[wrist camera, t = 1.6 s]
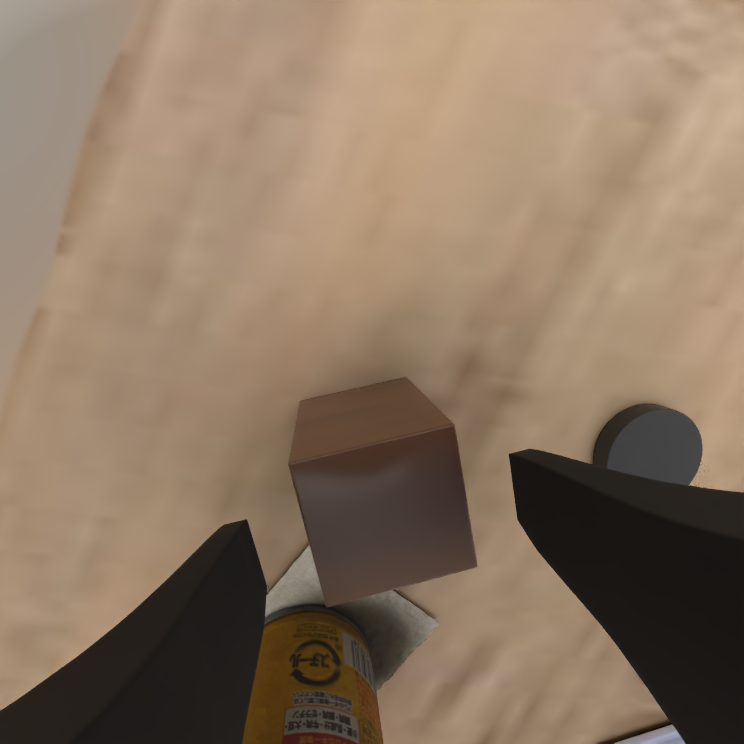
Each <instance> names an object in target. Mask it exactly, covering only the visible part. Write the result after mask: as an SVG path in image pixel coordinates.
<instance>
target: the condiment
mask: <svg viewBox="0 0 744 744" xmlns="http://www.w3.org/2000/svg"><path fill="white" fill-rule="evenodd" d="M438 625H439V623H438V622H437V621H436V620H434V619H433V618H431V617H430V616H428V615H426V614H425V612H424V611H422V610H421V609H419V608H418V607H416V606H415V605H413V604H412V603H411V602H409V601H408V600H406V599H404V598H403V597H401V596H400V595H399V594H398V593H396V592H395V591H393V590H391V591H387V592H383V593H380V594H376V595H372V596H369V597H365V598H361V599H357V600H354V601H350V602H346V603H343V604H339V605H335V606H332V607H326V605H325V601H324V598H323V594H322V590H321V586H320V583H319V579H318V575H317V571H316V567H315V564H314V560H313V556H312V552H311V549H310V545H309V546H308V547H307V548H306V549H305V551H304V552H303V553H302V554H301V556H300V557H299V558H298V559H297V560H296V561H295V562H294V563H293V564H292V566H291V567H290V568H289V570H288V571H287V572H286V574H285V575H284V576H283V577H282V578H281V579H280V580H279V581H278V583H277V584H276V585H275V586H274V587H273V588H272V590H271V591H270V592H269V593H268V595H266V611H265V624H264V630H263V636H262V641H261V647H260V652H259V657H258V662H257V667H256V673H255V678H254V683H253V688H252V693H251V698H250V703H249V708H248V714H247V719H246V724H245V729H244V736H243V742H242V744H383V738H382V730H381V723H380V716H379V708H378V702H377V694H376V691H377V690H378V689H379V688H380V687H381V686H382V685H383V683H384V682H386V681H387V680H389V679H390V678H391V677H392V676H393V674H394V673H395V671H396V670H397V669H398V667H399V666H400V665H401V664H402V663H404V661H405V660H406V658H407V657H408V656H409V655H410V654H411V653H412V652H413V651H414V650H415V648H417V647H418V646H419V645H420V644H421V643H422V642H423V641H425V640H426V639H427V638H428V636H429V635H430V633H431V632H432V631H433V630H434V629H435V628H436V627H437V626H438Z"/></svg>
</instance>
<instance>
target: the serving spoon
mask: <svg viewBox="0 0 744 744" xmlns="http://www.w3.org/2000/svg"><path fill="white" fill-rule="evenodd" d="M701 458H702V440H701V435H700V433H699V430H698V428H697V427H696V425H695V424H694V422H693V421H692V420H691V419H690V418H689V417H687V416H686V415H684V414H683V413H681V412H678V411H676V410H673V409H670V408H667V407H664V406H660V405H656V404H641V405H636V406H633V407H630V408H628V409H626V410H624V411H622V412H621V413H619V414H618V415H617V416H615V417H614V418H613V419H612V420H611V421H610V422H609V423H608V424H607V425H606V427H605V428H604V429H603V431H602V432H601V434H600V436H599V438H598V441H597V443H596V446H595V451H594V465H596V466H599V467H603V468H607V469H611V470H615V471H619V472H623V473H627V474H632V475H636V476H640V477H645V478H649V479H654V480H659V481H664V482H670V483H676V484H682V485H689V484H690V483H691V481H692V480H693V478H694V477H695V475H696V473H697V471H698V468H699V466H700V462H701Z"/></svg>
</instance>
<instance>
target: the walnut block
mask: <svg viewBox="0 0 744 744" xmlns="http://www.w3.org/2000/svg"><path fill="white" fill-rule="evenodd" d="M288 465H289V469H290V473H291V477H292V481H293V484H294V488H295V492H296V496H297V499H298V503H299V507H300V511H301V515H302V518H303V522H304V526H305V530H306V533H307V537H308V541H309V545H310V549H311V552H312V556H313V560H314V564H315V567H316V571H317V575H318V579H319V583H320V586H321V590H322V594H323V598H324V601H325V605H326V607H332V606H335V605H339V604H343V603H346V602H350V601H354V600H357V599H361V598H365V597H369V596H372V595H376V594H380V593H383V592H387V591H391V590H394V589H398V588H402V587H405V586H409V585H413V584H416V583H420V582H424V581H428V580H431V579H435V578H439V577H442V576H446V575H450V574H453V573H457V572H461V571H464V570H468V569H472V568H475V567H477V559H476V553H475V547H474V541H473V535H472V529H471V522H470V516H469V510H468V504H467V498H466V492H465V485H464V479H463V473H462V467H461V461H460V455H459V448H458V442H457V436H456V430H455V425H454V423H453V422H452V421H451V420H450V419H449V418H447V417H446V416H445V415H444V414H443V413H442V412H441V411H440V410H439V409H438V408H437V407H436V406H435V405H434V404H433V403H432V402H431V401H430V400H429V399H428V398H427V397H426V396H425V395H424V394H423V393H422V392H421V391H420V390H419V389H418V388H417V387H416V386H415V385H414V384H413V383H412V382H411V381H410V380H409V379H408V378H406V377H405V378H400V379H396V380H391V381H387V382H382V383H378V384H374V385H369V386H365V387H360V388H356V389H351V390H347V391H343V392H338V393H334V394H329V395H325V396H320V397H316V398H312V399H307V400H303V401H300V405H299V410H298V416H297V421H296V426H295V432H294V437H293V442H292V448H291V453H290V458H289V464H288Z"/></svg>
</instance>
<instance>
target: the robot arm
mask: <svg viewBox="0 0 744 744" xmlns="http://www.w3.org/2000/svg"><path fill="white" fill-rule="evenodd" d="M509 458H510V466H511V474H512V481H513V489H514V496H515V504H516V512H517V519H518V521H519V523H520V524H521V526H522V528H523V529H524V531H525V532H526V534H527V535H528V537H529V539H530V540H531V541H532V543H533V544H534V546H535V547H536V549H537V550H538V552H539V553H540V554H541V555H542V557H543V558H544V559H545V560H546V561H547V562H548V564H549V565H550V566H551V567H552V568H553V570H554V571H555V572H556V573H557V574H558V575H559V577H560V578H561V579H562V580H563V581H564V582H565V584H566V585H567V586H568V587H569V588H570V589H571V591H572V592H573V593H574V594H575V595H576V596H577V598H578V599H579V600H580V601H581V602H582V603H583V604H584V606H585V607H586V608H587V609H588V610H589V611H590V613H591V614H592V615H593V616H594V617H595V618H596V620H597V621H598V622H599V623H600V624H601V626H602V627H603V628H604V629H605V631H606V632H607V633H608V634H609V636H610V637H611V638H612V639H613V641H614V642H615V643H616V645H617V646H618V647H619V649H620V650H621V652H622V653H623V654H624V656H625V657H626V659H627V660H628V661H629V663H630V664H631V666H632V667H633V668H634V670H635V671H636V673H637V674H638V675H639V677H640V678H641V679H642V681H643V682H644V684H645V685H646V687H647V688H648V689H649V691H650V692H651V694H652V695H653V697H654V698H655V700H656V701H657V703H658V704H659V706H660V707H661V708H662V710H663V711H664V713H665V714H666V716H667V717H668V719H669V720H670V722H671V723H672V725H669V726H666V727H663V728H660V729H656V730H653V731H650V732H647V733H644V734H641V735H638V736H635V737H631V738H628V739H625V740H622V741H619V742H616V743H613V744H744V493H742V492H732V491H723V490H715V489H707V488H700V487H694V486H688V485H682V484H676V483H670V482H664V481H659V480H654V479H649V478H645V477H640V476H636V475H632V474H627V473H623V472H619V471H615V470H611V469H607V468H603V467H599V466H596V465H592V464H588V463H585V462H581V461H578V460H574V459H570V458H567V457H563V456H560V455H556V454H552V453H548V452H544V451H540V450H534V449H527V450H523V451H519V452H515V453H511V454H509ZM266 593H267V585H266V581H265V578H264V575H263V571H262V568H261V565H260V561H259V558H258V555H257V551H256V548H255V545H254V541H253V538H252V535H251V531H250V528H249V524H248V521H247V519H246V520H242V521H238V522H233V523H229V524H225V525H223V526H222V527H220V528H219V529H218V530H217V531H216V532H215V533H214V534H213V535H212V536H210V537H209V538H208V539H207V540H206V541H205V542H204V543H203V544H202V545H201V546H200V547H199V548H198V549H197V550H196V551H195V552H194V553H193V554H192V555H191V556H190V557H189V558H188V559H187V560H186V561H185V562H184V563H183V564H182V565H181V566H180V567H179V568H178V569H177V570H176V571H175V572H174V573H173V574H172V575H171V576H170V577H169V578H168V579H167V580H166V581H165V582H164V583H163V584H162V585H161V586H160V587H159V588H158V589H156V590H155V591H154V592H153V593H152V594H151V595H150V596H149V597H148V598H147V599H146V600H145V601H144V602H142V603H141V604H140V605H139V606H138V607H137V608H136V609H135V610H134V611H133V612H132V613H130V614H129V615H128V616H127V617H126V618H125V619H123V620H122V621H121V622H120V623H119V624H118V625H116V626H115V627H114V628H113V629H112V630H110V631H109V632H108V633H107V634H105V635H104V636H103V637H102V638H100V639H99V640H98V641H97V642H95V643H94V644H93V645H92V646H90V647H89V648H88V649H87V650H85V651H84V652H83V653H81V654H80V655H79V656H78V657H76V658H75V659H73V660H72V661H71V662H69V663H68V664H67V665H65V666H64V667H62V668H61V669H60V670H58V671H57V672H55V673H54V674H53V675H51V676H50V677H48V678H47V679H46V680H44V681H43V682H41V683H40V684H39V685H37V686H36V687H35V688H33V689H32V690H30V691H29V692H28V693H26V694H25V695H23V696H22V697H20V698H19V699H18V700H16V701H15V702H13V703H12V704H10V705H9V706H7V707H5V708H4V709H2V710H1V711H0V744H242V742H243V736H244V729H245V724H246V719H247V714H248V708H249V703H250V698H251V693H252V688H253V683H254V678H255V673H256V667H257V662H258V657H259V652H260V647H261V641H262V636H263V630H264V624H265V611H266Z"/></svg>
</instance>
